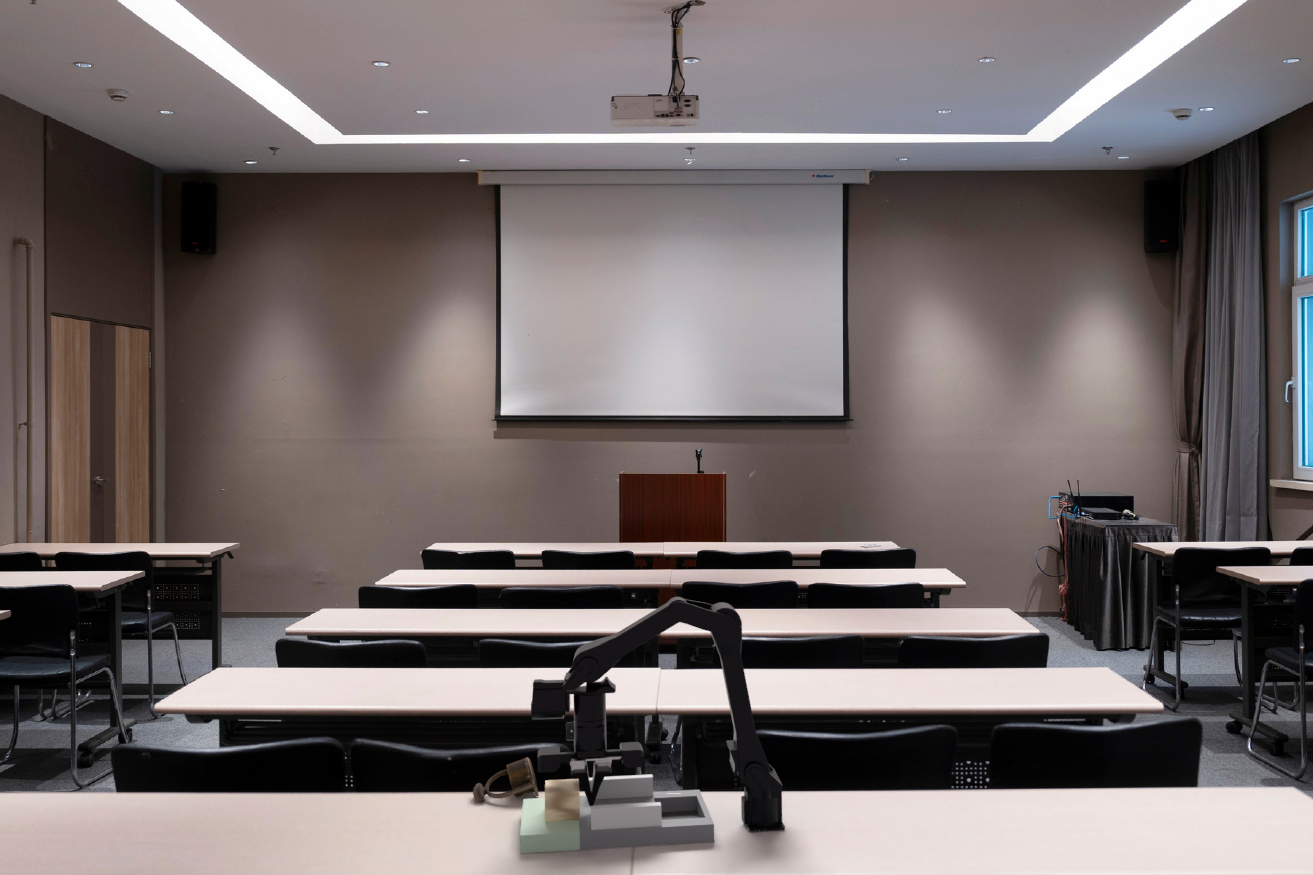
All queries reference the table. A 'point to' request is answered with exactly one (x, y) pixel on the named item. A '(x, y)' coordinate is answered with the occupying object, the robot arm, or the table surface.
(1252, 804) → the table surface
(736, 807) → the table surface
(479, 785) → the brown cylinder with loop
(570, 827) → the stepped grey tray
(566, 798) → the maple block
